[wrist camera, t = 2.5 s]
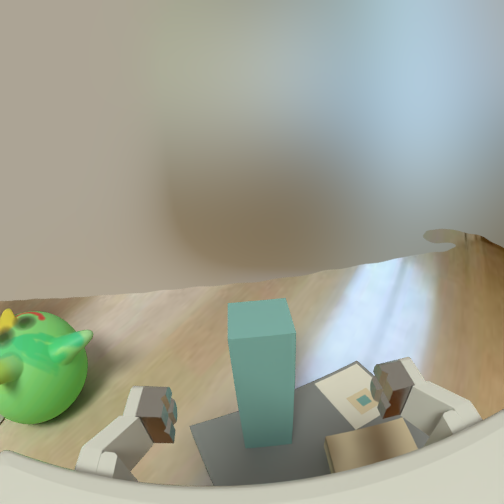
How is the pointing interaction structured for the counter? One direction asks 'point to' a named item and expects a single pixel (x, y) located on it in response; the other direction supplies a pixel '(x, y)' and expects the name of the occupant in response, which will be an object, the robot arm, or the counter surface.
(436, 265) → the counter surface
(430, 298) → the counter surface
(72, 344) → the toy bird
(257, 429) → the column
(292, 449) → the base plate
